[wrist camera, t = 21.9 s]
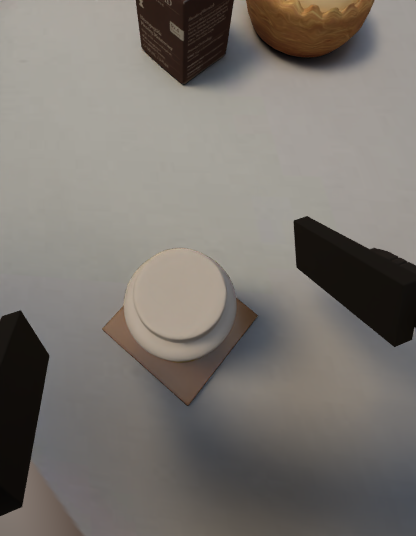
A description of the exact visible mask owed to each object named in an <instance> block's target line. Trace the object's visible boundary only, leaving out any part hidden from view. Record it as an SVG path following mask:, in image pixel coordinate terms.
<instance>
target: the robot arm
mask: <svg viewBox="0 0 416 536" xmlns="http://www.w3.org/2000/svg"><path fill="white" fill-rule="evenodd" d="M294 235H295V251H296V266H297V268H298V269H299V270H300V271H302V272H303V273H304V274H305V275H306V276H308V277H309V278H310V279H311V280H313V281H314V282H315V283H316V284H318V285H319V286H320V287H321V288H322V289H324V290H325V291H326V292H327V293H329V294H330V295H331V296H332V297H333V298H335V299H336V300H337V301H338V302H340V303H341V304H342V305H343V306H345V307H346V308H347V309H348V310H349V311H351V312H352V313H353V314H354V315H356V316H357V317H358V318H359V319H361V320H362V321H363V322H364V323H365V324H367V325H368V326H369V327H370V328H372V329H373V330H374V331H375V332H377V333H378V334H379V335H380V336H381V337H383V338H384V339H385V340H386V341H388V342H389V343H390V344H391V345H393V346H394V347H396V346H398V345H401V344H403V343H405V342H408V341H410V340H412V337H413V331H414V327H415V328H416V265H414V264H412V263H410V262H408V263H407V261H406V260H404V259H402V258H398V256H396V255H394V254H392V253H390V252H388V251H384V250H380V249H376V248H372V249H368V248H366V247H364V246H362V245H360V244H358V243H357V242H355V241H353V240H351V239H349V238H347V237H345V236H343V235H342V234H340V233H338V232H336V231H334V230H332V229H330V228H328V227H326V226H325V225H323V224H321V223H319V222H317V221H315V220H313V219H311V218H309V217H308V216H306V217H303V218H300V219H297V220H294ZM48 361H49V354H48V353H47V351H46V349H45V348H44V346H43V345H42V343H41V342H40V340H39V338H38V337H37V335H36V334H35V332H34V330H33V329H32V327H31V326H30V324H29V323H28V321H27V319H26V318H25V316H24V315H23V313H22V312H21V310H20V311H17V312H14V313H11V314H8V315H5V316H2V318H1V320H0V516H2V515H4V514H7V513H8V512H11V511H13V510H16V509H18V508H21V507H22V504H23V499H24V493H25V488H26V482H27V476H28V471H29V465H30V460H31V454H32V449H33V443H34V438H35V432H36V427H37V421H38V416H39V410H40V405H41V399H42V394H43V388H44V383H45V377H46V372H47V366H48Z"/></svg>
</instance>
